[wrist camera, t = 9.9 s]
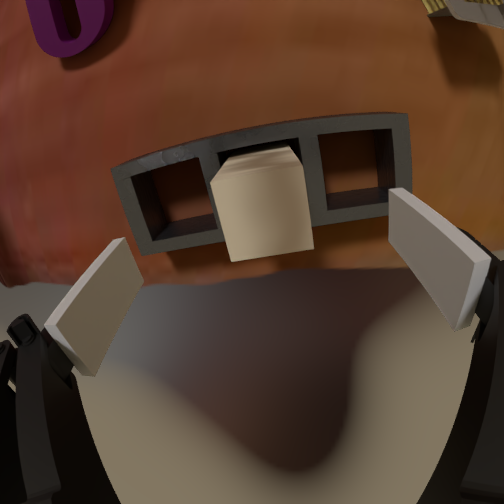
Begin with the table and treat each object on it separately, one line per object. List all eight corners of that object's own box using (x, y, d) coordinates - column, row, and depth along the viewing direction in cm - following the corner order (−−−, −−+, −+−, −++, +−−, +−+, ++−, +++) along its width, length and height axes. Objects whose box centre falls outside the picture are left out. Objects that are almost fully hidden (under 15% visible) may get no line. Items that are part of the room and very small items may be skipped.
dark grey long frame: (156, 235, 30) (141, 255, 26) (131, 159, 26) (110, 168, 22) (393, 196, 26) (412, 212, 22) (386, 111, 22) (407, 113, 18)
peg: (244, 199, 27) (231, 261, 17) (233, 151, 25) (210, 182, 15) (294, 191, 27) (314, 248, 16) (286, 141, 24) (302, 165, 14)
